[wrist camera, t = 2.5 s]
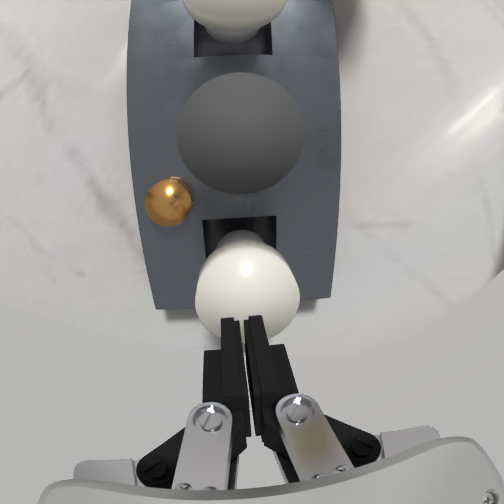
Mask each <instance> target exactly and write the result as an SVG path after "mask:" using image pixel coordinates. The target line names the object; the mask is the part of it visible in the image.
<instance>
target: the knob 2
mask: <svg viewBox="0 0 504 504" xmlns="http://www.w3.org/2000/svg"><path fill="white" fill-rule="evenodd" d="M299 302H300V293H299V288H298V285H297V282H296V280H295V278H294V276H293V274H292V272H291V269H290V267H289V265H288V263H287V261H286V260H285V258H284V257H283V256H282V255H281V254H280V253H279V252H278V251H277V250H276V249H274V248H273V247H271V246H269V245H267V244H265V242H264V241H263V239H262V238H261V237H260V236H259V235H257V234H256V233H254V232H251V231H248V230H236V231H232V232H230V233H228V234H226V235H225V236H224V237H223V238H221V240H220V241H219V242H218V244H217V246H216V250H215V251H214V252H213V253H212V254H211V255H209V257H208V258H207V259H206V260H205V262H204V264H203V265H202V267H201V270H200V273H199V278H198V284H197V290H196V296H195V307H196V312H197V315H198V317H199V319H200V321H201V322H202V324H203V325H204V326H205V327H206V328H207V329H208V330H209V331H210V332H211V333H213V334H214V335H216V336H217V337H219V338H221V318H229V317H234V321H236V320H239V322H240V330H241V339H242V343H245V337H244V320H248V316H254V315H262V318H263V322H264V326H265V330H266V335H267V339H269V338H271V337H274V336H275V335H277V334H279V333H280V332H281V331H283V330H284V329H285V328H286V327H287V326H288V325H289V324H290V323H291V321H292V320H293V318H294V317H295V315H296V313H297V310H298V307H299Z"/></svg>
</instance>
